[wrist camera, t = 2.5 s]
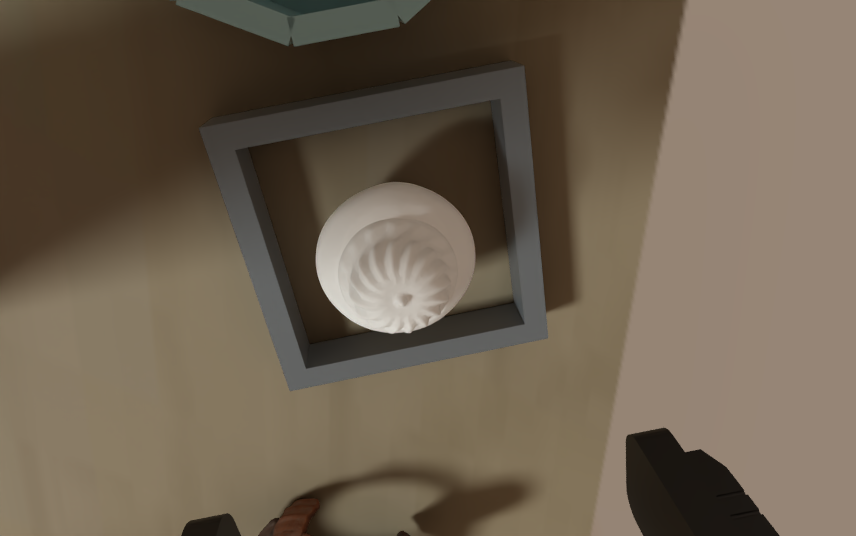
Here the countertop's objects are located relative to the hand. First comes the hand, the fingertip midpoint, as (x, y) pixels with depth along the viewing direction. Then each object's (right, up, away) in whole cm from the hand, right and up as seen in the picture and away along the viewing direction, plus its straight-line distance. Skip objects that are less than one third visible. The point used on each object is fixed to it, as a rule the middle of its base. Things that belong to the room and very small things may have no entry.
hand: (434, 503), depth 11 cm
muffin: (-2, +7, +14) cm, 15 cm away
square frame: (-2, +6, +13) cm, 15 cm away
